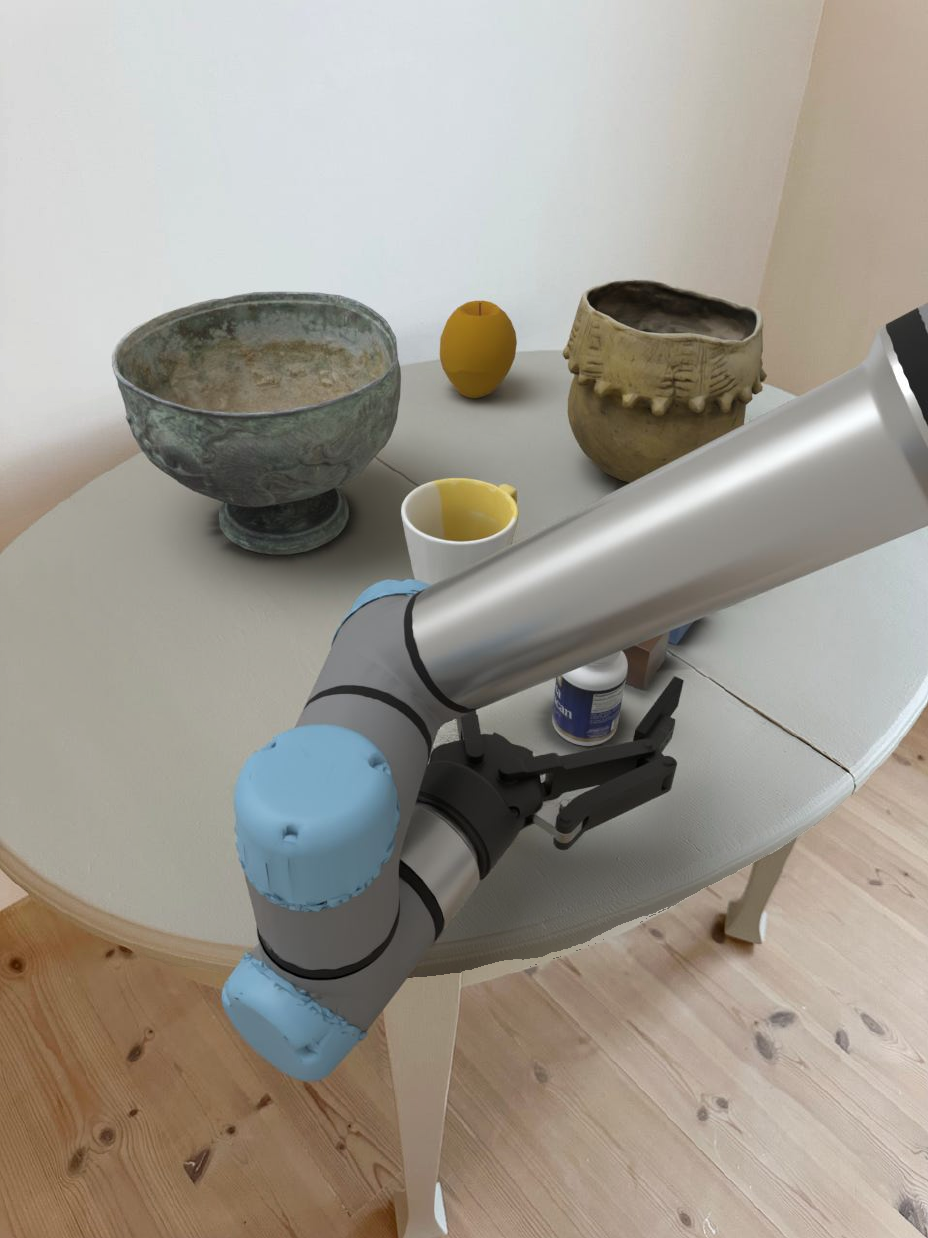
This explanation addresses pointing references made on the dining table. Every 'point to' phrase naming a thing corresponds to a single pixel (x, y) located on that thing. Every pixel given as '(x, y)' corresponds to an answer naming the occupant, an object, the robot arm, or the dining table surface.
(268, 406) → the decorative bowl
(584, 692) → the pill bottle
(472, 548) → the mug
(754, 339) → the clay pot
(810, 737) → the dining table surface
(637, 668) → the walnut block
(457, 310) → the apple
